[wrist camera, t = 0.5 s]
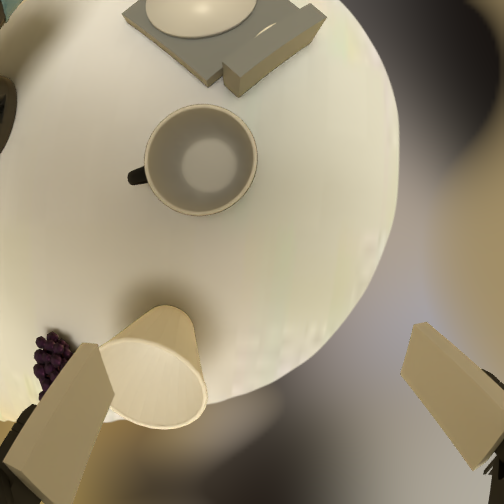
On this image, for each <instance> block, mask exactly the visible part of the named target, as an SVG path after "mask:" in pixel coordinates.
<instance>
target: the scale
mask: <svg viewBox="0 0 504 504" xmlns="http://www.w3.org/2000/svg"><path fill="white" fill-rule="evenodd" d="M122 15H123V17H124V18H125V20H126V21H127V22H128V23H129V24H130V25H132V26H133V27H134V28H136V29H137V30H139V31H140V32H141V33H143V34H144V35H145V36H146V37H148V38H149V39H150V40H152V41H153V42H154V43H156V44H157V45H158V46H159V47H161V48H162V49H163V50H164V51H166V52H167V53H168V54H169V55H171V56H172V57H173V58H174V59H175V60H177V61H178V62H179V63H180V64H181V65H183V66H184V67H185V68H186V69H187V70H189V71H190V72H191V73H192V74H193V75H194V76H196V77H197V78H198V79H199V80H200V81H201V82H202V83H204V84H205V85H206V86H207V87H210V86H211V85H212V84H213V83H214V82H215V81H217V80H218V79H219V78H220V77H221V76H223V80H224V85H225V86H226V87H227V88H228V89H229V90H230V91H231V92H232V93H234V94H235V95H236V96H237V97H238V98H239V97H240V96H242V95H243V94H244V93H245V92H246V91H248V90H249V89H250V88H251V87H252V86H254V85H255V84H256V83H257V82H259V81H260V80H261V79H262V78H264V77H265V76H266V75H267V74H269V73H270V72H271V71H273V70H274V69H275V68H277V67H278V66H279V65H281V64H282V63H283V62H285V61H286V60H287V59H289V58H290V57H291V56H293V55H294V54H296V53H297V52H298V51H300V50H301V49H303V48H304V47H306V46H307V45H309V44H310V43H311V41H312V40H313V38H314V37H315V35H316V34H317V32H318V30H319V29H320V27H321V26H322V24H323V23H324V21H325V20H326V18H327V17H326V16H325V15H324V14H323V13H322V12H320V11H319V10H318V9H317V8H316V7H314V6H313V5H312V4H311V3H310V4H308V5H306V6H304V7H302V8H301V9H299V8H298V7H296V6H295V5H294V4H293V3H291V2H290V1H289V0H138V1H137V2H136V3H135V4H133V5H132V6H131V7H129V8H128V9H127V10H126V11H125V12H123V13H122Z"/></svg>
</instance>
